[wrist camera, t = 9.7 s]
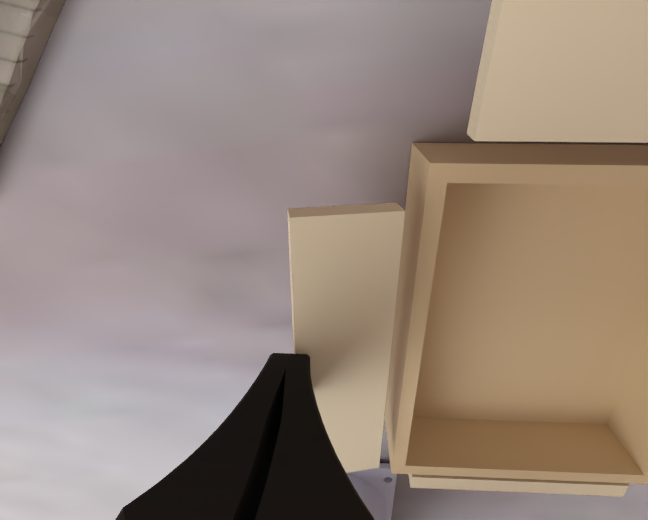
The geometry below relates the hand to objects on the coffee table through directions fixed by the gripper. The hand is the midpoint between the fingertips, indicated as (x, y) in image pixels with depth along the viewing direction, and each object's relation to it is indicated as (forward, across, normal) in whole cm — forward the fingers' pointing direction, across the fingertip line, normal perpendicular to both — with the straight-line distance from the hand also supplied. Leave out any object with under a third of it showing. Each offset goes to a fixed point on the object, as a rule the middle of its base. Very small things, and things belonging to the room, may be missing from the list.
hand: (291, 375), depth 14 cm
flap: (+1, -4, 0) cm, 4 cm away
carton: (+5, -10, 0) cm, 11 cm away
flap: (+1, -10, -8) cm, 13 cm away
